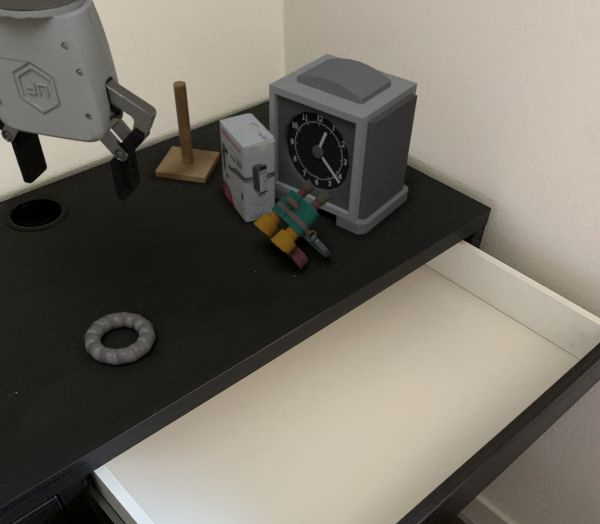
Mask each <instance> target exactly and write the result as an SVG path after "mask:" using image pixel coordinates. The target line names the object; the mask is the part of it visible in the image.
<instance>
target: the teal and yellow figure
mask: <svg viewBox="0 0 600 524" xmlns="http://www.w3.org/2000/svg"><path fill="white" fill-rule="evenodd" d="M313 190H314V187H313V185H312V182H311V180H310V179H308V180H307V181H306V182H305V183H304V184H303V185H302V188H301V189H300V190H299V191H298V192H297V193H296V192H295V191H294V190H291V191H290V192H289V193H288V194H286V195H285V196H284V197H283V198H282V199H281V200H278V201H277V202H275V206H274V207H273V208H272V212H271V213H270V214H269V215H267V214H266V213H264V214H263V215H262V216H261V217H260V218H259V219H258V220H254V221H253V224H254V225H255V227H257V228H258V229H259V230H260V231H261V232H262V233H264V234H265V235H266V236H268V238H269V239H270V241H271V242H272V243H273V244H274V245H275V247H276V248H277V249H278V250H279V251H280V252H281V253H282V254H286V256H287V257H288V258H289V259H290V261H291V262H292V263H293V264H294V265H295V266H296V267H297V268H298V269H299V270H303V268H304V267H305V266H306V265H307V264H308V262H309V258H308V257H307V256H306V254H305V253H304V252H303V250H302V249H300V248H299V247H298V246H297V244H296V242H295V241H296V240H297V239H298V238H303V239H305V241H306V242H307V243H308V244H309V245H310V246H312V247H313V248H314V249H315V250H316V251H317V252H318V253H319V254H321V255H322V257H324V258H325V259H326V258H328V257H329V256H330V255H331V252H330V251H329V249H328V248H327V246H325V244H324V243H323V242H322V241H321V240H320V239H319V238H318V236H317V232H316V231H315V230H310V229H309V228H310V227H311V226H312V225H313V224H314V223H315V221H316V220H317V219H318V218H319V217H320V213H319V212H318V210H320V209H321V208H320V207H321V206H324V205H325V204H326V203H327V202H328V201H329V200H330V198H331V196H330V195H328V194H326V193H324V192H320V193H319V194H318V195H317V196H316V197H315V198H316V199H315V200H314V201H313V202H312V203H311V204H309V203H308V202H307V201H306V200H304V198H305V197H306V196H307V195H308V194H310V193H311V192H312V191H313ZM281 223H284V224H285V225H286V226H287V228H285V230H284V229H283V228H281V229H279V227H278V226H279V225H280V224H281ZM312 233H313V234H312ZM311 234H312V235H311ZM310 235H311V236H310Z"/></svg>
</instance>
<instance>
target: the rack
mask: <svg viewBox="0 0 600 524" xmlns="http://www.w3.org/2000/svg"><path fill="white" fill-rule="evenodd" d="M172 86H173V87H172V88H173V95H174V103H175V111H176V121H177V129H178V137H179V145H180V146H175V145H172V146H171V147H170V149H169V150H168V151H167V153H166V154H165V156H164V157H163V158H162V160H161V162H160V163H159V164H158V166H157V168H156V169H155V171H154V172H155V173H154V174H155V177H156V178H163V179H170V180H171V179H172V180H178V181H185V182H193V183H199V184H207V181H208V180H209V178H210V176H211V174H212V173H213V171H214V170H215V168H216V166H217V164H218V163H219V161H220V159H221V152H220V151H214V150H205V149H197V148H193V140H192V139H193V137H192V130H191V120H190V111H189V100H188V90H187V83H186V82H185V81H183V80H176V81H174V82H173V83H172Z"/></svg>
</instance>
